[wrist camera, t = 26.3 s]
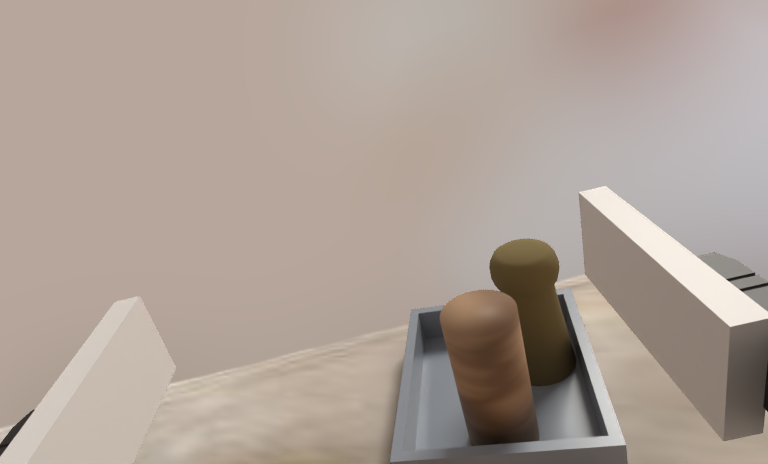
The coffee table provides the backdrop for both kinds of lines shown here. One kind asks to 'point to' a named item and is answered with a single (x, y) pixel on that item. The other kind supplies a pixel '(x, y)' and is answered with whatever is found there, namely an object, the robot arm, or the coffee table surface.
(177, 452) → the coffee table surface
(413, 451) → the tote
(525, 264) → the cork
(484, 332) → the walnut cylinder
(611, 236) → the robot arm
